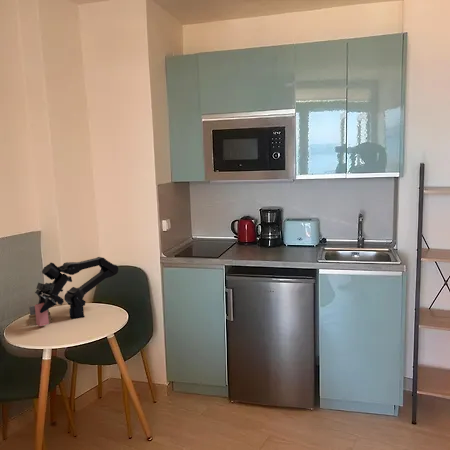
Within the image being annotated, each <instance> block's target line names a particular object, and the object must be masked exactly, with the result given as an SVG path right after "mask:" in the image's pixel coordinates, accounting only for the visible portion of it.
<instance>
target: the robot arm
mask: <svg viewBox="0 0 450 450" xmlns="http://www.w3.org/2000/svg"><path fill="white" fill-rule="evenodd" d="M98 266H99V268H100V270H99V272H98V273H97V274H96V275H94V276H92V277H91V278H90V279H89V280H87V281H85V282H84V283H83V284H82V285H81V286H79V287H75V286H72V287H71V288H70V289H69V290H66V293H65V294H64V297H63V298H62V297H61V296H59V294H60V292H61V293H62V292H63V291H64V289H63V288H65V285H66V284H67V282H69V283H72V282H73V280H72V276H73V275H75V274H78V273H80V272H81V271H83V270H86V269H90V268H95V267H98ZM41 273H42V274H43V276H45V277H47V278H48V279H49V280H53V281H52V282H45V283H41V282H37V285H36V287H35V288H36V289H35V291H34V294H36V295H37V296H38V298H39V299H38V303H37V304H40V303H44V305H43V307H42V308H41V310H40V313H43V312H44V311H46V310H47V309H49V310H50V309H51V308H53V307H54V306H57V304H58V305H60V306H62V305H63V303H64V301H65V303H66V304H67V305H68V306H69V308H68V311H69V317H70V319H71V320H75V319H82V318H85V311H84V306H86V301H85V300H84V297H85V295H86V294H87V293H89V292H90V291H91V290H93V289H94V288H95V287H97V286H98V285H99V284H101V283H102V282H103V281H104V280H106V279H109V278H112V277H114V276H116V275H117V274H118V273H119V266H118V265H117V264H114V263H112V262H110V261H109V260H107V258H105V257H102V256H97V257H95V258H94V257H93V258H90V259H86V260H81V261H77V262H76V261H75V262H74V261H69V262H68V261H67V262H63V264H62V265H60V266H57V265H56V264H55V263H54V262H49V264H47V265H46V266H44V267H43V269H42V270H41Z"/></svg>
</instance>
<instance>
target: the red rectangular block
mask: <svg viewBox="0 0 450 450" xmlns="http://www.w3.org/2000/svg"><path fill="white" fill-rule="evenodd" d="M43 305H44V303H40V304H38V303H37V304H34V306H35V313H36V324H37V325H36V326H39V327H42V326H45V325H49V324H50V323H49V320H48V309H47V310H46V311H44V312H43V313H40V310H41V308H42V307H43Z"/></svg>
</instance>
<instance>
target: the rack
mask: <svg viewBox="0 0 450 450" xmlns="http://www.w3.org/2000/svg"><path fill="white" fill-rule="evenodd" d="M28 308H29V315H28V325H29V327H33V326H38V325H37V324H36V313H35V305H32V306H31V305H30V306H29V307H28ZM49 310H50V308H49V309H48V320H49V324H52V323H53V322H52V316H51V312H50V311H49Z"/></svg>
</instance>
